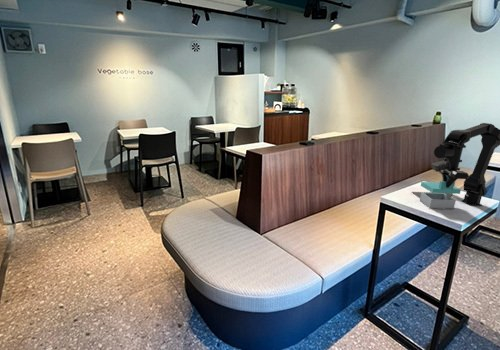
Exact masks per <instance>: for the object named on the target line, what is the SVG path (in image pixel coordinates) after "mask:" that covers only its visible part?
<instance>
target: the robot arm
mask: <svg viewBox="0 0 500 350" xmlns="http://www.w3.org/2000/svg"><path fill="white" fill-rule="evenodd" d="M478 136H481V139H480V141H481V147H482V148H481V151H480V153H479V155H478V158H477V160H476V164H475V166H474V169H473V171H472V173H471V174H470V175H469V173H468V172H466V171H463V170H461V168H460V167H459V166H460V163H463V160H462V159H461V157H462V154H463V149H466V148H467V145H466V143H468V142H470V141H471V139H472V138H475V137H478ZM499 146H500V128H498V127H496V126H495V125H494V124H492V123H488V122H482V123H480V124H478V125H475V126H472V127H468V128H465V129H453V130H451V131H450V132H449V133H448V134H447V136H446V137H445V139H444V140H443V141H442V142H441V143H439V146H437V147H435V149H434V150H433V154H434V157H435V158H437V159H442V160H441V161H440V160H439V161H435V162H432V163H431V168H432V170H433V171H435V172H437V173H440V174H441V176H442V179H443V181H447V182H446V187H447V188H449V187H450V186H451V185H452V184H453V183H454V182H455V183H456V181H457V180H464V181H463V191H465V194H464V197H463V199H461V201H462V202H463V203H465V204H466V205H469V206H479V207H480V206H482V205H483V204H482V203H481V202H482V201H481V200H482V198H483V197H484V196H486V195H487V193H488V190H487V187H486V182H487V181H486V178H485V175H486V172H487V170H488V167H489V164H490V162H491V159H492V157H493V154H494V152H495V149H497V148H498V147H499Z"/></svg>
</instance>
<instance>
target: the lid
mask: <svg viewBox="0 0 500 350" xmlns="http://www.w3.org/2000/svg"><path fill="white" fill-rule="evenodd" d="M446 182H447V181H442V180H441V181H438V182H434V181H433V182H432V181H431V182H430V181H421V183H420V187H422V188H423V189H425V190H427V191H428V192H432V193H451V194H455V195H457V194H458V195H460V194H461V191H462V189H461V188H458V187H457V186H454V183H453V184H452V185H451V186H450V187H449V188H447V187H446Z"/></svg>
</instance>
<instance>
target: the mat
mask: <svg viewBox="0 0 500 350" xmlns="http://www.w3.org/2000/svg"><path fill="white" fill-rule="evenodd" d="M421 192H422V191H411V193H412V194H413V195H415V196H416V197H417V198H419V199H420V197H421ZM423 192H424V193H432V192H430V191H423Z"/></svg>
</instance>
